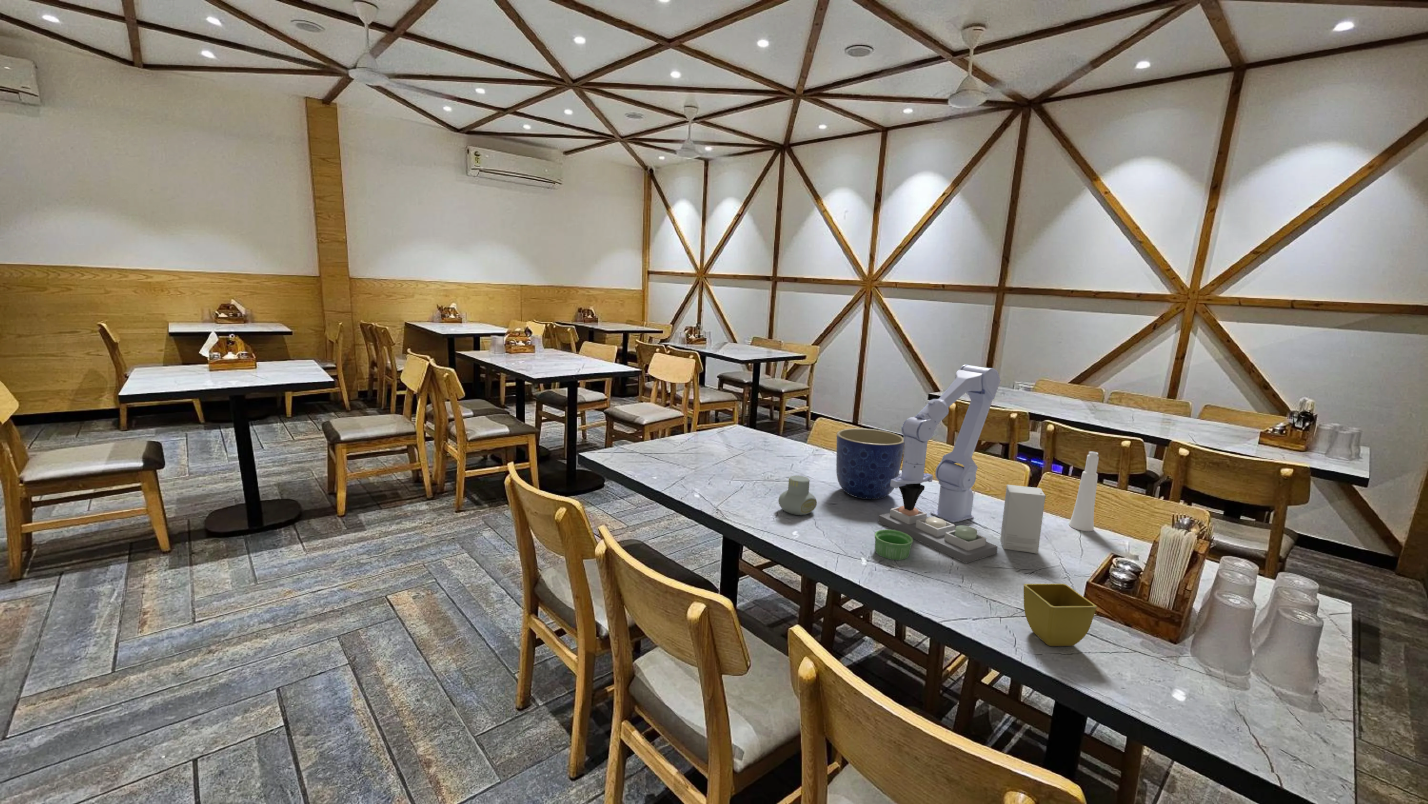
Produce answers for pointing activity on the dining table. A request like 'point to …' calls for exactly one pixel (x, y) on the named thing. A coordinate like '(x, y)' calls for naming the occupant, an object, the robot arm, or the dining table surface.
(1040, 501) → the skincare box
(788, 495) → the air freshener
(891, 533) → the ramekin
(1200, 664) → the dining table surface
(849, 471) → the planter
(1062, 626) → the flower pot
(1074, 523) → the cosmetic bottle
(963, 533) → the sage button
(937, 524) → the cream button
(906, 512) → the terracotta button
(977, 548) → the button panel
